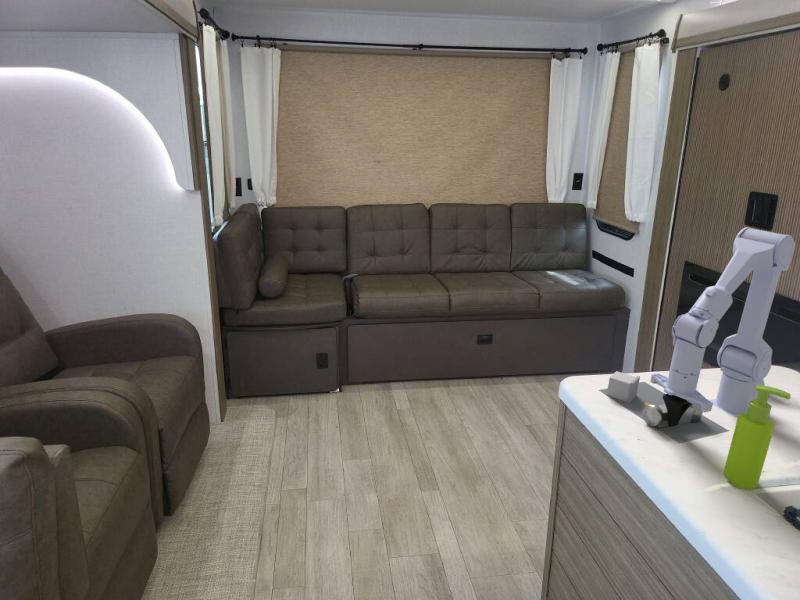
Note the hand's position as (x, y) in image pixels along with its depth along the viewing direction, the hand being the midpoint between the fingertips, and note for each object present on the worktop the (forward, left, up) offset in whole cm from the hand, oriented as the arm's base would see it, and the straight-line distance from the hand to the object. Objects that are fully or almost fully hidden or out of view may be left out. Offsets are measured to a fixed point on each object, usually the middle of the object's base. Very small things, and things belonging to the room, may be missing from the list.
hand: (672, 425), depth 125 cm
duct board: (-5, -8, -2) cm, 9 cm away
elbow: (-3, -3, -1) cm, 4 cm away
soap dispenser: (+1, +18, -2) cm, 18 cm away
